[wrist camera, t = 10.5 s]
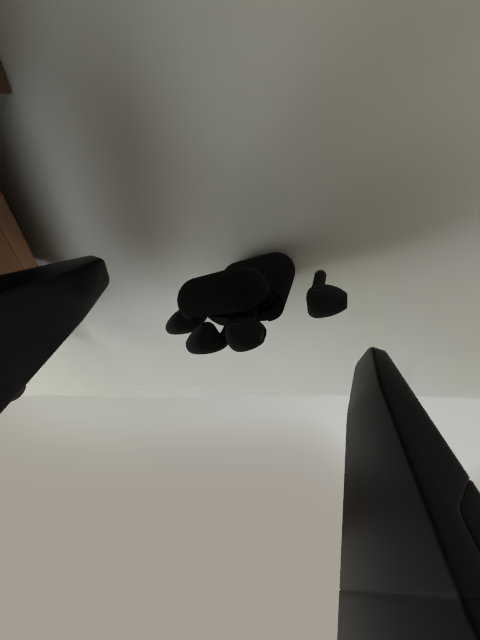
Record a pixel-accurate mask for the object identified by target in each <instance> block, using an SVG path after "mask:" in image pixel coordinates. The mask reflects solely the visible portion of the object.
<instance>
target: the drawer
mask: <svg viewBox="0 0 480 640" xmlns="http://www.w3.org/2000/svg"><path fill="white" fill-rule="evenodd" d="M34 267H38V265H37V263H36V261H35V259H34V257H33V255H32V253H31V251H30V249H29V247H28V245H27V243H26V241H25V239H24V237H23V235H22V233H21V231H20V229H19V227H18V225H17V223H16V221H15V219H14V217H13V214H12V212H11V210H10V208H9V206H8V204H7V202H6V200H5V198H4V196H3V194H2V192H1V190H0V275H2V274H7V273H11V272H16V271H20V270H25V269H30V268H34ZM25 388H26V385H25V386H24V387H23V388H22V390H21V391H20V392H19V393H18V394H17V395H16V396H15V398H14V399H13V400H12V401H14V400H16V399H18V398H19V397H20V396H21V395H22V394H23V393H24V391H25Z"/></svg>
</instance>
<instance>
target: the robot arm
mask: <svg viewBox="0 0 480 640" xmlns="http://www.w3.org/2000/svg"><path fill="white" fill-rule="evenodd" d="M108 284H109V275H108V272H107V268H106V265H105V262H104V260H103V259H101V258H98V257H95V256H85V257H81V258H76V259H71V260H67V261H62V262H57V263H53V264H48V265H44V266H39V267H34V268H30V269H25V270H20V271H16V272H11V273H7V274H2V275H0V413H1V412H2V411H3V410H4V409H5V408H6V406H7V405H8V404H9V403H10V402H11V401H12V400H13V399H14V398H15V396H16V395H17V394H18V393H19V392H20V391H21V390H22V388H23V387H24V386H25V385H26V384H27V383H28V382H29V381H30V379H31V378H32V377H33V376H34V375H35V374H36V373H37V371H38V370H39V369H40V368H41V367H42V366H43V365H44V364H45V362H46V361H47V360H48V359H49V358H50V357H51V356H52V354H53V353H54V352H55V351H56V350H57V349H58V348H59V347H60V345H61V344H62V343H63V342H64V341H65V340H66V339H67V337H68V336H69V335H70V334H71V333H72V332H73V331H74V330H75V328H76V327H77V326H78V325H79V324H80V323H81V322H82V320H83V319H84V318H85V317H86V315H87V314H88V313H89V311H90V310H91V308H92V307H93V306H94V304H95V303H96V301H97V300H98V299H99V297H100V296H101V294H102V293H103V291H104V290H105V289H106V287H107V286H108ZM346 430H347V432H346V452H345V454H346V455H345V476H344V499H343V522H342V523H343V524H342V547H341V570H340V589H341V590H340V591H339V613H338V636H337V640H480V493H479V491H478V490H477V488H476V486H475V485H474V483H473V482H472V481H471V480H469V476H468V474H467V473H466V471H465V470H464V468H463V467H462V465H461V464H460V463H459V461H458V459H457V458H456V456H455V455H454V454H453V452H452V450H451V449H450V447H449V446H448V444H447V443H446V441H445V440H444V438H443V437H442V435H441V434H440V432H439V431H438V429H437V428H436V426H435V425H434V423H433V422H432V420H431V419H430V417H429V416H428V414H427V413H426V411H425V410H424V408H423V407H422V405H421V404H420V402H419V401H418V399H417V398H416V396H415V395H414V393H413V391H412V390H411V388H410V387H409V385H408V384H407V382H406V381H405V379H404V378H403V376H402V375H401V373H400V372H399V370H398V369H397V367H396V366H395V364H394V363H393V361H392V360H391V358H390V357H389V355H388V354H387V353H386V352H385V351H384V350H381V349H378V348H375V347H370V348H369V349H368V350H367V351H366V352H365V354H364V355H363V356H362V357H361V359H360V360H359V361H358V363H357V365H356V367H355V372H354V377H353V383H352V389H351V395H350V401H349V406H348V413H347V428H346Z"/></svg>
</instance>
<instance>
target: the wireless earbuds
mask: <svg viewBox="0 0 480 640" xmlns="http://www.w3.org/2000/svg"><path fill="white" fill-rule="evenodd" d="M294 276H295V267H294V264H293V262H292V260H291V259H290V258H289V257H288V256H287V255H285V254H283V253H279V252H273V253H269V254H265V255H261V256H258V257H254V258H250V259H246V260H243V261H239V262H235V263H232V264H231V265H229V266H228V267H227V268H226V269H225V270H224V271H221V272H217V273H213V274H209V275H205V276H201V277H197V278H193V279H191V280H189V281H187V282H186V283H185V284H184V285H183V286H182V287H181V289H180V291H179V293H178V298H177V302H178V307H179V310H178V311H177V312H176V313H175V314H173V315H172V317H171V318H170V319H169V320H168V322H167V324H166V331H167V332H168V333H169V334H175V335H177V334H186V333H190V332H192V333H191V334H190V336H189V337H188V339H187V341H186V348H187V350H188V351H189V352H190V353H193V354H208V353H213V352H217V351H220V350H222V349H223V348H225V347H226V346H227V345H228V344H229V346H230V347H231V348H232V349H233V350H234V351H236V352H244V351H249V350H252V349H254V348H256V347H258V346H260V345H261V344H262V343H263V342H264V340H265V337H266V328H265V327H264V325H263V324H262V323H261V322H259V321H266V320H268V321H273V320H275V319H277V318H278V317H279V316H280V315H281V314H282V312H283V310H284V307H285V304H286V301H287V298H288V295H289V292H290V289H291V286H292V283H293V280H294ZM325 281H326V272H325V271H323V270H318V271H317V272H316V273H315V276H314V280H313V285H312V287H311V288H310V289H309V290H308V292H307V296H306V300H307V310H308V314H309V315H310V316H311V317H313V318H324V317H329V316H332V315H335V314H338V313H340V312H342V311H343V310H345V309H346V308H347V293H346V292H345V291H343V290H342V289H340V288H338V287H335V286H332V285H326V284H325ZM207 317H208V318H209V319H210V320H212V321H213V322H215V323H217V324H219V325H222V326H224V327H223V329H222V331H221V333H219V332H218V330H217V329H216V327H215V326H214V325H213V324H212V323H210V322H205V320H206V319H207Z"/></svg>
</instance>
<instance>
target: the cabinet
mask: <svg viewBox="0 0 480 640" xmlns="http://www.w3.org/2000/svg"><path fill="white" fill-rule="evenodd" d="M10 93H11V90H10V88H9V85H8V82H7V80H6V77H5V74H4V72H3V69H2V66H1V64H0V94H10Z"/></svg>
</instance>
